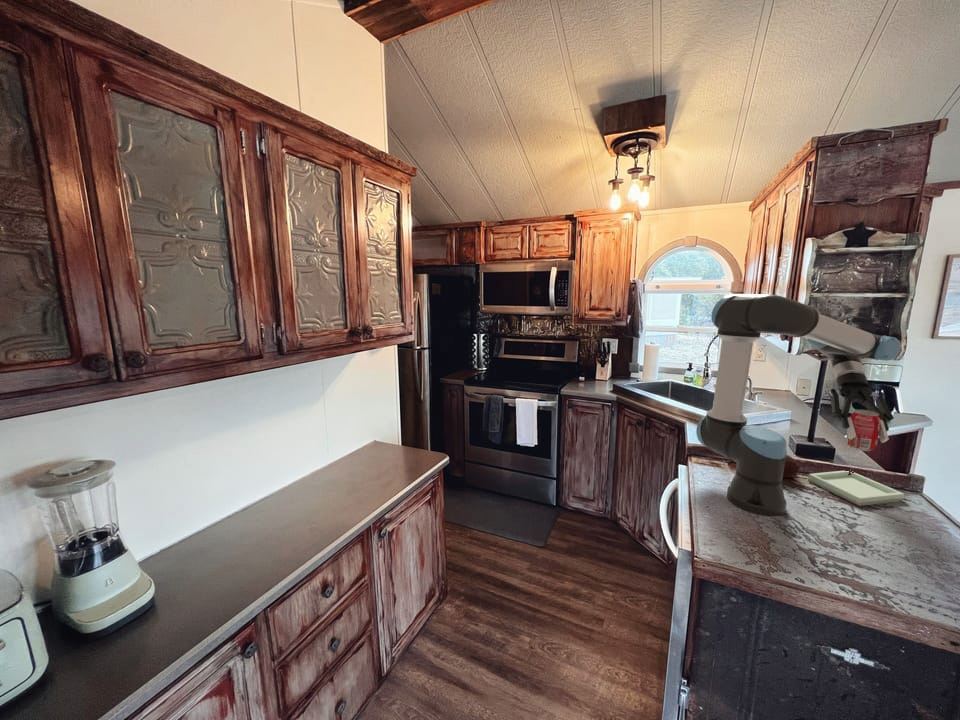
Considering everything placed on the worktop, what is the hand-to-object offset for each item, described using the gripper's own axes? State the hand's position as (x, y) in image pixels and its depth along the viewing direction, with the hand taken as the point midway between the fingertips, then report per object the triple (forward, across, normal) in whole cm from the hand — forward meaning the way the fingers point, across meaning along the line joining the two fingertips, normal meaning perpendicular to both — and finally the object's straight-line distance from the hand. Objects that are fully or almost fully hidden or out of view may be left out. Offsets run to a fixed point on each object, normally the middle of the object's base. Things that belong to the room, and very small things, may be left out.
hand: (868, 439), depth 119 cm
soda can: (+1, 0, -6) cm, 6 cm away
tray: (+11, 0, -16) cm, 20 cm away
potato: (+9, +20, -19) cm, 29 cm away
